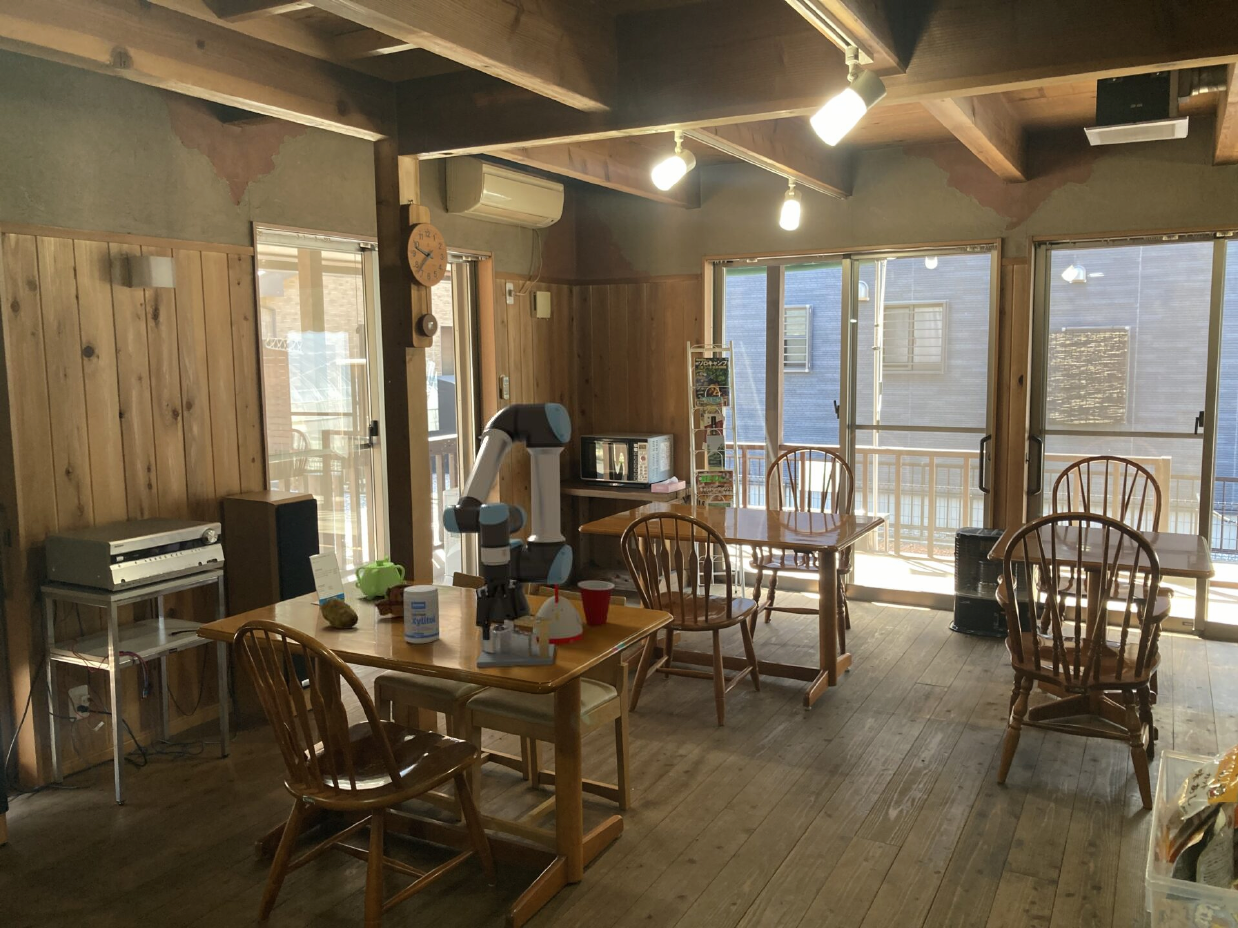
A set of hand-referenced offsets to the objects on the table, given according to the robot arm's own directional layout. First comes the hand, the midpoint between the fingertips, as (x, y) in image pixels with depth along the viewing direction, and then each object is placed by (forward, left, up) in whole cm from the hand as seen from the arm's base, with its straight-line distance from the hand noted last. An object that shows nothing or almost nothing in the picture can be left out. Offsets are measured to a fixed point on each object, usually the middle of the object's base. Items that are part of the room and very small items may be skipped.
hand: (499, 647), depth 253 cm
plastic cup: (-28, +26, -2) cm, 38 cm away
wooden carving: (-44, -34, -2) cm, 56 cm away
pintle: (0, 0, 0) cm, 0 cm away
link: (+3, +3, 0) cm, 4 cm away
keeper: (+7, +10, 0) cm, 12 cm away
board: (+4, +5, -2) cm, 6 cm away
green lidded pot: (-74, -47, -2) cm, 88 cm away
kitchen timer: (-14, +15, -2) cm, 21 cm away
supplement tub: (-16, -23, -2) cm, 28 cm away
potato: (-34, -51, -2) cm, 62 cm away
